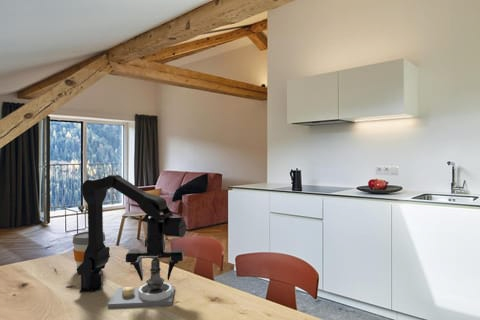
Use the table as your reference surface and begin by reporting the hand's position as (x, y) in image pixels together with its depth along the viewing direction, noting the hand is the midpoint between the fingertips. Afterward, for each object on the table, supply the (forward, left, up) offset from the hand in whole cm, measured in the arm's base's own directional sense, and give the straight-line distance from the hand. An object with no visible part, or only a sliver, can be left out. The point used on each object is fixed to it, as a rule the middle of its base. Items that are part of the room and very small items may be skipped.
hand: (155, 280), depth 116 cm
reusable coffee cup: (-31, +30, -6) cm, 43 cm away
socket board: (-4, 0, -6) cm, 7 cm away
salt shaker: (0, 0, -4) cm, 4 cm away
